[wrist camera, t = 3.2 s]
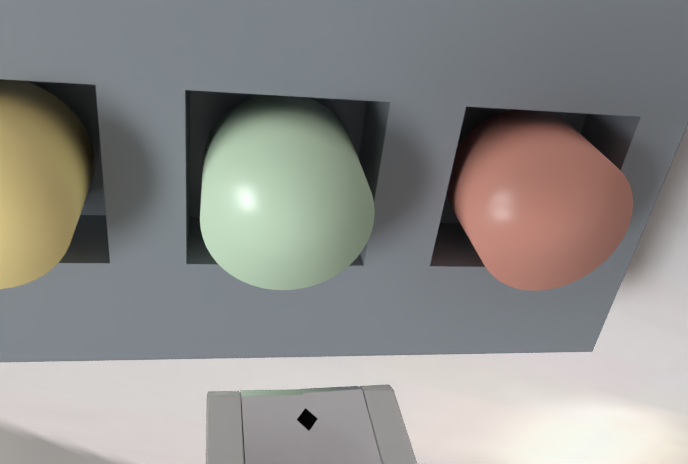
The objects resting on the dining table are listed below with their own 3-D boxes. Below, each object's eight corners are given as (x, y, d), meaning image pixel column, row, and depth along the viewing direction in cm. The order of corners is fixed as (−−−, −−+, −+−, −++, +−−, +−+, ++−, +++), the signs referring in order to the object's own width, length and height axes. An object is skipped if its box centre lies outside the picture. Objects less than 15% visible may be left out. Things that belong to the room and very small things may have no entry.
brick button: (599, 111, 19) (656, 157, 17) (557, 234, 21) (602, 290, 19) (462, 103, 18) (500, 150, 16) (433, 231, 20) (463, 290, 18)
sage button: (363, 97, 18) (386, 144, 15) (344, 230, 20) (362, 290, 17) (203, 87, 17) (200, 136, 14) (202, 227, 19) (199, 290, 17)
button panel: (665, -40, 19) (744, -13, 16) (549, 289, 25) (592, 351, 23) (-194, -135, 15) (-296, -122, 12) (-80, 288, 21) (-128, 364, 18)
